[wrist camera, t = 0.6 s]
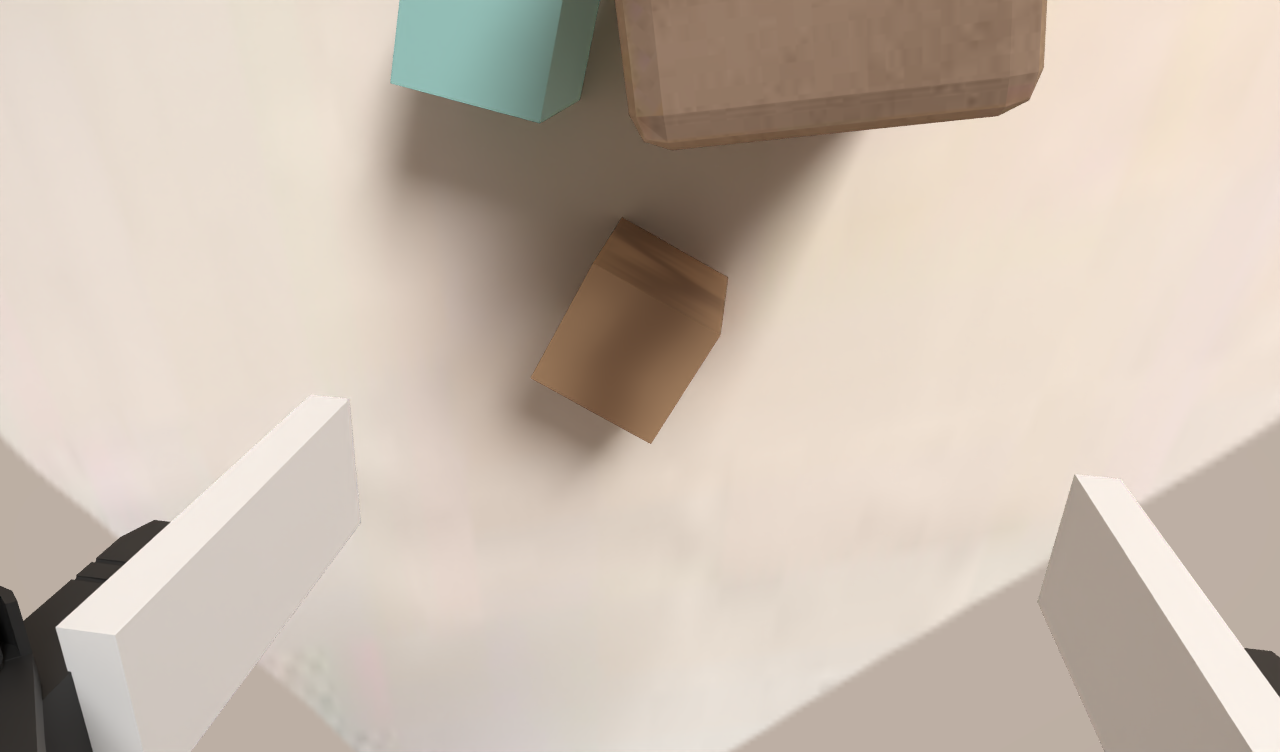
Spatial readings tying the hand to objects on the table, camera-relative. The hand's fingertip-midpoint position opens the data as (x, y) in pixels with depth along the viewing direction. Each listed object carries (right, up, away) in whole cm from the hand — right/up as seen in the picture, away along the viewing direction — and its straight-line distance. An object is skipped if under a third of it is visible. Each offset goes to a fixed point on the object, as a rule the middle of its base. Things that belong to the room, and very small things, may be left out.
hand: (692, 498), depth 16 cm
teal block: (-6, +19, +24) cm, 31 cm away
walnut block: (-1, +6, +28) cm, 29 cm away
